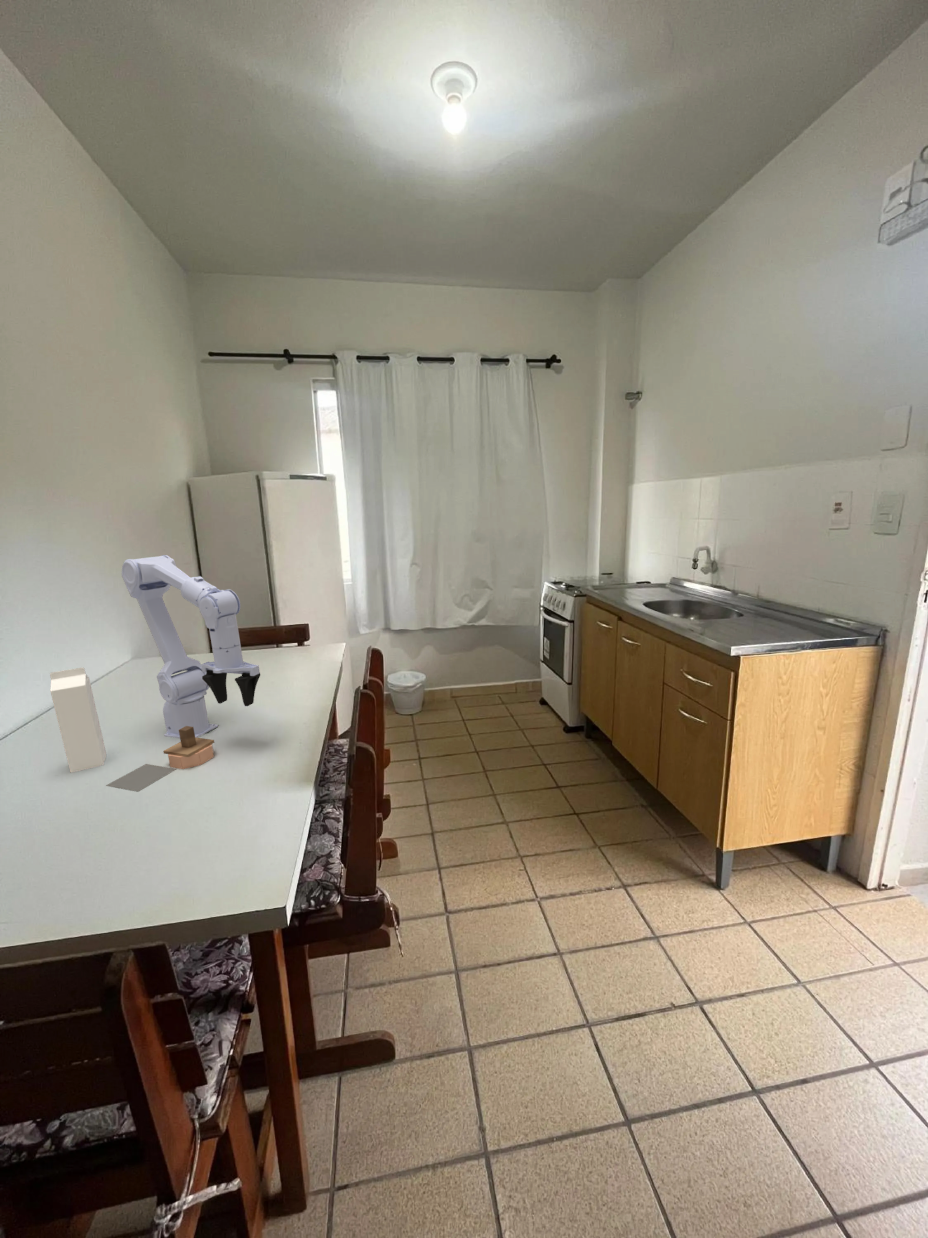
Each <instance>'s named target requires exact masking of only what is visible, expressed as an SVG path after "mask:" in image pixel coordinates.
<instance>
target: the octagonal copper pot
mask: <svg viewBox="0 0 928 1238" xmlns="http://www.w3.org/2000/svg"><path fill="white" fill-rule="evenodd" d="M214 753H215V752H214V743H213V744H211V745H209V746H207V747H206V748H204V749H202V750H200V751H199V752H197V753H195V754H193V755H192V756H190V757H183V756H177V755H170V754H167V756H168V761H169V766H170V767H169V768H174V769H177V770H178V769H179V770H184V769H190V768H194V767H198V766H201V765H203V764H205V763H206V762H208V761H210V760H211V759H213V758H214V757H215V755H214Z"/></svg>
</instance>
